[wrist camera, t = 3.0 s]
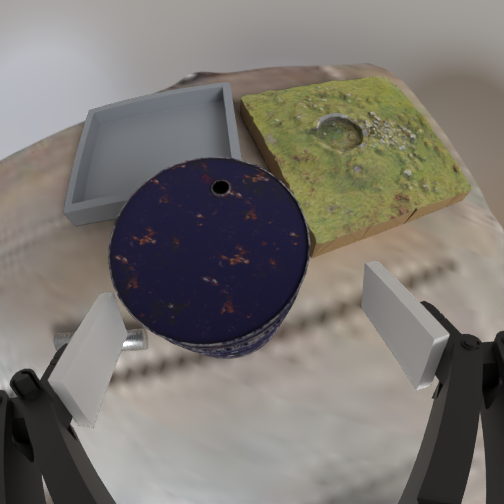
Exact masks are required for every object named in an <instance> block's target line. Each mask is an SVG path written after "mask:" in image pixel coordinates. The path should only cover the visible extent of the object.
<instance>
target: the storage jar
mask: <svg viewBox="0 0 504 504" xmlns="http://www.w3.org/2000/svg"><path fill="white" fill-rule="evenodd" d="M309 257H310V236H309V228H308V225H307V221H306V218H305V215H304V213H303V210H302V208H301V206H300V204H299V202H298V201H297V199H296V198H295V196H294V195H293V194H292V192H291V191H290V190H289V189H288V188H287V187H286V186H285V185H284V183H283V182H282V181H280V180H279V179H278V178H277V177H275V176H274V175H273V174H271V173H270V172H268V171H266V170H265V169H263V168H261V167H259V166H257V165H254V164H252V163H249V162H246V161H243V160H239V159H234V158H228V157H201V158H195V159H190V160H186V161H183V162H180V163H177V164H174V165H172V166H170V167H167V168H165V169H163V170H161V171H160V172H158V173H157V174H155V175H153V176H152V177H150V178H149V179H148V180H147V181H145V182H144V183H143V184H142V185H141V186H139V188H138V189H137V190H136V191H135V192H134V193H133V194H132V195H131V196H130V197H129V199H128V200H127V202H126V203H125V205H124V206H123V207H122V209H121V211H120V213H119V215H118V217H117V219H116V221H115V224H114V227H113V230H112V233H111V238H110V243H109V269H110V275H111V279H112V282H113V285H114V288H115V291H116V293H117V295H118V297H119V299H120V301H121V302H122V304H123V306H124V307H125V308H126V309H127V311H128V312H129V313H130V314H131V316H132V317H133V318H134V319H136V320H137V321H138V322H139V323H140V324H141V325H142V326H144V327H145V328H146V329H148V330H150V331H151V332H153V333H155V334H156V335H158V336H160V337H162V338H164V339H166V340H167V341H169V342H171V343H173V344H175V345H178V346H180V347H182V348H185V349H188V350H191V351H193V352H197V353H200V354H203V355H206V356H209V357H214V358H225V359H231V358H238V357H242V356H246V355H249V354H251V353H253V352H255V351H257V350H258V349H260V348H261V347H262V346H264V345H265V344H266V343H267V342H268V341H269V340H270V339H271V338H272V337H273V336H274V334H275V333H276V331H277V330H278V328H279V326H280V324H281V323H282V321H283V320H284V318H285V317H286V315H287V314H288V312H289V310H290V309H291V307H292V305H293V303H294V301H295V299H296V297H297V294H298V292H299V289H300V287H301V284H302V282H303V280H304V278H305V275H306V271H307V267H308V263H309Z"/></svg>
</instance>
